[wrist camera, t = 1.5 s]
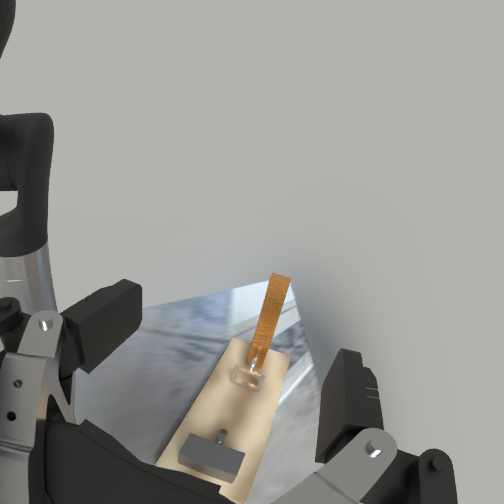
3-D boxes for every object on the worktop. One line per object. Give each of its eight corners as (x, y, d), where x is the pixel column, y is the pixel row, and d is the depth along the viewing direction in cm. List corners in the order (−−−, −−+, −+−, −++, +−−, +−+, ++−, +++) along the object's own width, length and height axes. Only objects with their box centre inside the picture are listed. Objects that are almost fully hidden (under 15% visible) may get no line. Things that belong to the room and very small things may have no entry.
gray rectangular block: (178, 463, 21) (178, 453, 20) (197, 428, 26) (199, 416, 25) (232, 483, 20) (236, 475, 19) (246, 446, 25) (252, 435, 24)
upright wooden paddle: (230, 381, 34) (252, 292, 29) (250, 341, 44) (272, 260, 38) (259, 392, 34) (290, 304, 28) (274, 349, 43) (301, 269, 37)
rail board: (156, 470, 21) (155, 464, 20) (231, 345, 45) (233, 337, 44) (242, 504, 19) (246, 500, 18) (287, 364, 43) (290, 355, 42)
